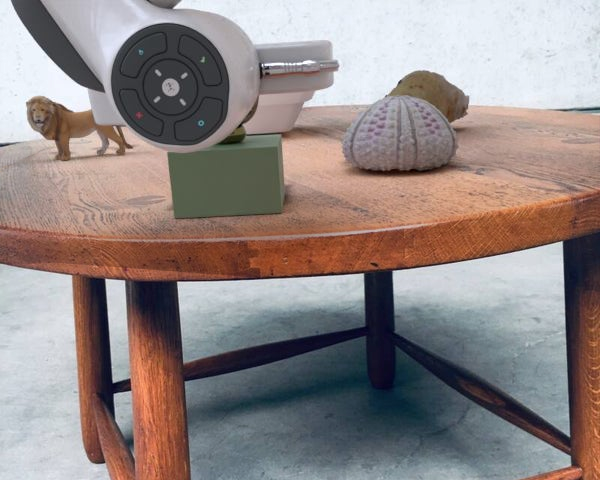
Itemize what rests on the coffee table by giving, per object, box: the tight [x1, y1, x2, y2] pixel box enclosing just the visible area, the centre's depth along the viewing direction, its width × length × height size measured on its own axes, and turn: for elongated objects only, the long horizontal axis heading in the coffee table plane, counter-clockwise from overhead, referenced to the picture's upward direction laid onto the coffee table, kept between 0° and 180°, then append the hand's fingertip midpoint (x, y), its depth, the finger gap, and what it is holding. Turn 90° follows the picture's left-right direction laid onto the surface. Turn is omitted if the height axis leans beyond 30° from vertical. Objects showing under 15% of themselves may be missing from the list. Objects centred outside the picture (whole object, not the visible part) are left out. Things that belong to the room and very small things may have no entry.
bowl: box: [243, 91, 316, 135], centre depth 144 cm, size 21×21×9 cm
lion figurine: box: [25, 95, 134, 161], centre depth 130 cm, size 15×5×9 cm, turn 117°
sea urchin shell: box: [340, 95, 460, 172], centre depth 103 cm, size 13×14×8 cm
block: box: [166, 133, 286, 219], centre depth 87 cm, size 10×10×6 cm
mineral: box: [378, 69, 470, 124], centre depth 129 cm, size 26×9×10 cm
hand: (219, 68), depth 80 cm, fingers open, 8 cm apart
